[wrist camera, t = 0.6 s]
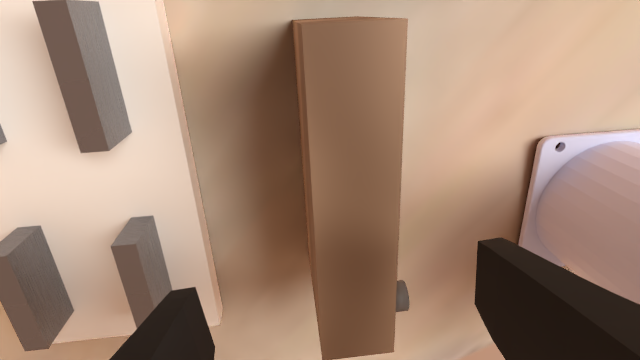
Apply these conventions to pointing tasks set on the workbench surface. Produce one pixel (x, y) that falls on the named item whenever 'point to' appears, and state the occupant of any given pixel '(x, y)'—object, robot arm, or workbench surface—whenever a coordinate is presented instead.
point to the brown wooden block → (353, 176)
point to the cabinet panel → (102, 167)
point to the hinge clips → (92, 136)
